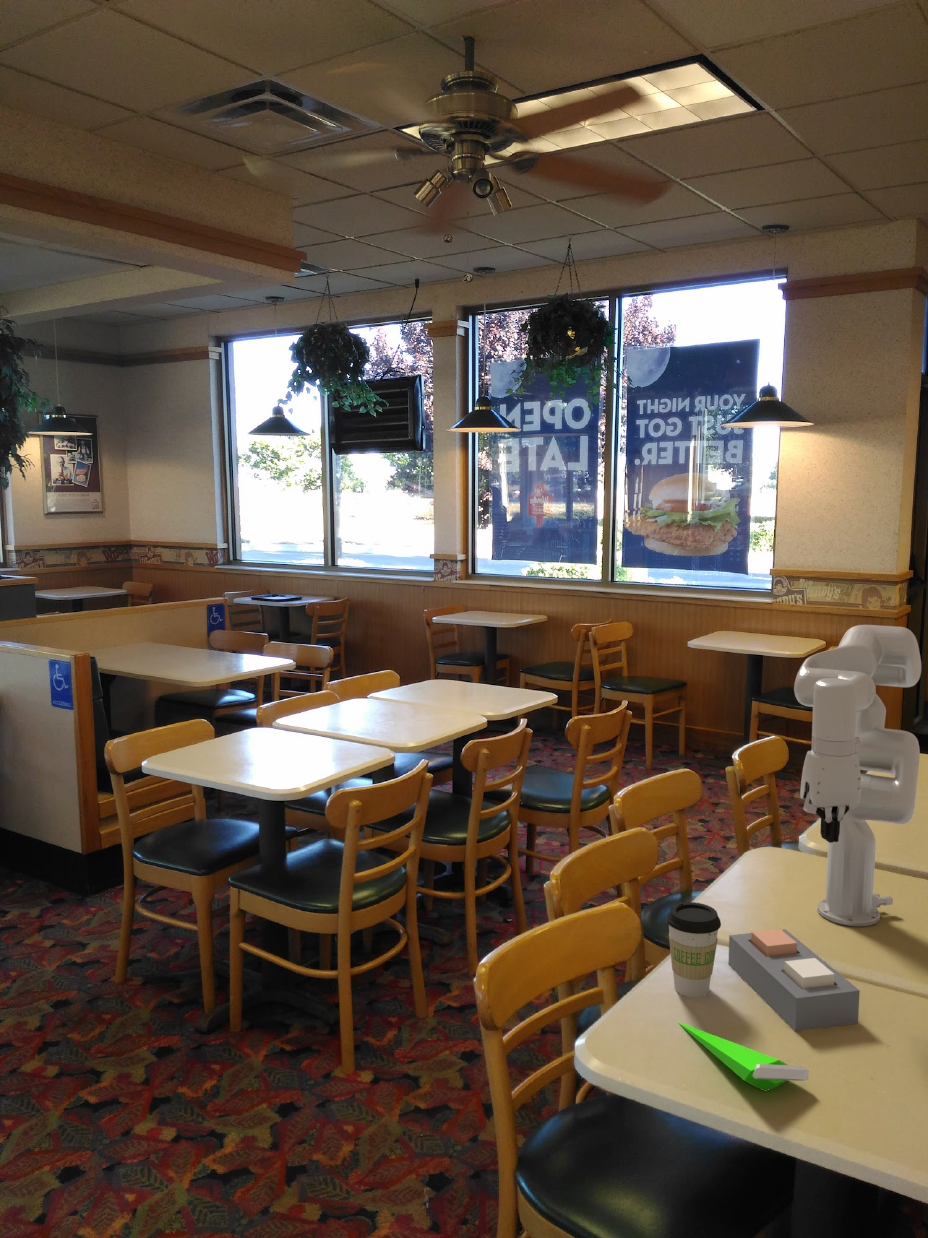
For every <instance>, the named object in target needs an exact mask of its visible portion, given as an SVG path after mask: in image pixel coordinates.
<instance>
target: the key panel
mask: <svg viewBox="0 0 928 1238" xmlns="http://www.w3.org/2000/svg"><path fill="white" fill-rule="evenodd" d="M781 930H782V931H783V932H784V933H786V934H787V935H788V936H789V937H790V938H792V939H793V940H794V941H795V942H796V943H797V953H796V954H787V955H778V956H770V957H766V956H765V955H764V954H762V953H761V952H760V951H759V950H758V949H757V948H756V947H755V946H754V945H753V944H752V943H751V932H750V933H749V932H748V933H738V934H729V936H728V937H729V939H728V966H729V967H730V968H731V969H732V970H733V971H734V972H735V973H736V974H737V975H738V976H739V977H740V978H741V979H742V980H743V981H744V982H745V983H746V984H748V986H749V987H750V988H751V989H752V990H753V991H754V992H755V994H757V995H758V996H759V997H760V998H761V999H762V1000H763V1001H764V1002H765V1003H766V1004H767V1005H768V1006H769V1007H770V1008H771V1009H772V1010H773V1011H774V1012H775V1013H776V1014H777V1015H778V1016H779V1017H780V1018H781V1019H782V1020H783V1021H784V1022H785V1023H786V1024H787V1025H788V1026H789V1027H790V1028H791V1029H792V1030H793V1031H794V1032H801V1031H807V1030H815V1029H817V1030H818V1029H823V1028H824V1029H825V1028H832V1027H838V1026H839V1027H840V1026H845V1025H846V1026H847V1025H853V1024H859V1014H860V1013H859V1012H860V1011H859V1010H860V989H858V988H857V987H856V986H855V985H854V984H852V983H851V982H850V981H849V980H848V979H846V978H845V977H844V976H843V975H842V974H840V973H839V972H838V971H837V970H836V969H835V968H833V967H832V966H831V965H830V964H828V963H827V962H826V961H825V960H823V959H822V958H821V957H820V956H819V955H817V953H815V952H814V951H812V950H811V949H810V948H809V947H808V946H806V945H805V944H804V943H803V942H802V941H800V940H799V939H798V938H797V937H796V936H794V935H793V934H792V933H791V932H789V931H788V930H787V929H781ZM810 958H816V959H817V960H818V961H819V962H821V963H822V964H823V965H824V966H825V967H827V968H828V969H829V970H830V971H831V972H833V973H834V985H833V986H825V987H816V988H808V989H801V988H800V987H799V986H798V985H796V984H795V983H794V982H793V981H792V980H791V979H790V978H789V977H788V976H787V975H786V974H784V969H785V961H792V960H801V959H810Z"/></svg>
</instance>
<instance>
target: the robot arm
mask: <svg viewBox="0 0 928 1238" xmlns="http://www.w3.org/2000/svg"><path fill="white" fill-rule="evenodd" d="M921 659H922V658H921V654H920V647H919V643H918V640H917V637H916V635H915V634H914V633H913V632H912V630H910V629H909V628H907V627H904V626H893V625H877V624H858V625H855V626H852V627H849V629H847V630H846V632H845V633H844V635H843V636H842V638H841V639H840V642H839V644H838V646H837V647H834V648H831V649H828V650H825V651H821V652H817V653H815V654H813V655H811V656H809V657H807V658H806V659H805V660H804V661H803V663H802V664H801V666H800V667H799V670H798V671H797V674H796V677H795V681H794V686H793V691H794V692H793V693H794V696H795V698H796V700H797V702H798V703H799V704H801V705H802V706H805V707H809V708H810V707H811V708H812V723H811V724H812V725H811V729H812V730H811V750H808V751H807V752H806V755H805V759H804V762H803V767H802V773H801V781H800V793H799V794H800V799H801V800H802V801H804V803H803V808H802V809H803V811H804V812H806V813H808V814H813V815H817V817H818V818H820V837H821V839H823V840H825V841H826V842H827V860H826V880H825V881H826V882H825V884H826V885H825V898H824V899H822V900H820V901H819V902H818V903H817V912H818V913H819V915H820V916H822V917H823V919H826V920H829V921H830V922H833V923H836V924H840V925H843V926H850V927H870V926H872V925H875V924H877V923H878V922H879V921H880V919H881V913H880V911H879V910H878V908H881V906H891V905H893V904H894V899H893V898H892V895H884V896H883V895H882V896H881V895H880V893H878V892H874V888H875V887H874V884H875V863H876V850H877V849H876V848H877V847H876V844H877V843H876V842H877V840H876V836H875V834H874V832H873V830H872V828H871V827H870V825H869V823H868V822H867V821H873V822H879V823H880V822H881V823H886V824H893V825H895V824H896V825H905V824H908V823H909V822H910V821H912V819H913V816H914V813H915V808H916V802H917V801H916V799H917V788H918V777H919V767H920V754H921V753H920V752H921V751H920V745H919V740H918V738H917V737H916V736H915V734H914V733H911V732H909V731H906V730H901V729H893V728H885V724H886V717H887V716H886V714H887V709H886V708H887V707H886V706H885V704H884V703H883V701H882V699H881V698H880V696H879V695H878V694H877V693H876V689H877V688H876V686H885V687H886V686H887V687H894V688H895V687H896V688H897V687H898V688H911V687H914V686H915V685H916V684H917V683H918V682H919V680H920V679H921V674H922V660H921ZM861 770H862V771H869V772H875V773H883V774H890V775H892V776H893V777H891V776H890V777H889V776H884V775H875V774H869V773H861Z"/></svg>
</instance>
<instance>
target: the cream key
mask: <svg viewBox="0 0 928 1238" xmlns="http://www.w3.org/2000/svg"><path fill="white" fill-rule="evenodd" d="M784 974H786V975H787V976H788V977H789V978H790V979H791V980H792V981H793V982H794V983H795V984H796V985H798V986H799V987H800V988H801V989H808V988H816V987H825V986H833V985H834V973H833V972H831V971H830V970H829V969H828V968H827V967H825V966H824V965H823V964H822V963H821V962H819V961H818V960H817V959H816V958H810V959H801V960H792V961H785V969H784Z"/></svg>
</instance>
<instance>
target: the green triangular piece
mask: <svg viewBox="0 0 928 1238" xmlns="http://www.w3.org/2000/svg"><path fill="white" fill-rule="evenodd" d="M677 1024H679V1025H680V1027H682V1028H683V1029H684V1030H685V1031H686V1032H687V1033H688V1034H690V1036H692V1037H694V1038H695V1039H696V1040H697V1041H698V1042H699V1043H700V1044H702V1046H704V1047H705V1048H706V1049H707V1050H708V1051H709V1052H711V1054H713V1056H715V1057H716V1058H717V1059H719V1060H720V1061H721V1062H722V1063H723V1064H725V1066H727V1067H728V1068H729V1069H730V1070H732V1072H734V1073H735V1074H736V1075H737V1076H738V1077H740V1079H741V1080H743V1081H744V1082H746V1083H748V1084H750V1085H751V1086H754V1087H755V1088H758V1090H761V1089H763V1090H767V1091H769V1090H771V1088H772V1089H773V1087H774V1088H776V1087H777V1085H778V1086H780V1085H782V1084H784V1083H786V1082H788V1081H795V1082H798V1081H799V1082H803V1081H808V1080H809V1069H807V1068H805V1067H803V1066H802V1065H789V1064H787V1063H785V1062H784V1061H781V1060H780V1059H778V1058H775V1057H773V1056H770V1055H767V1054H765V1053H761V1052H759V1051H756V1050H754V1049H751V1048H748V1047H746V1046H743V1045H741V1044H738V1043H735V1042H733V1041H730V1040H728V1039H724V1038H723V1037H720V1036H717V1035H714V1034H711V1033H708V1032H706V1031H704V1030H701V1029H699V1028H696V1027H693V1026H691V1025H687V1024H684V1023H682V1022H679V1021H677ZM783 1082H784V1083H783ZM781 1083H782V1084H781ZM779 1084H780V1085H779ZM775 1086H776V1087H775ZM768 1089H769V1090H768Z"/></svg>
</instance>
